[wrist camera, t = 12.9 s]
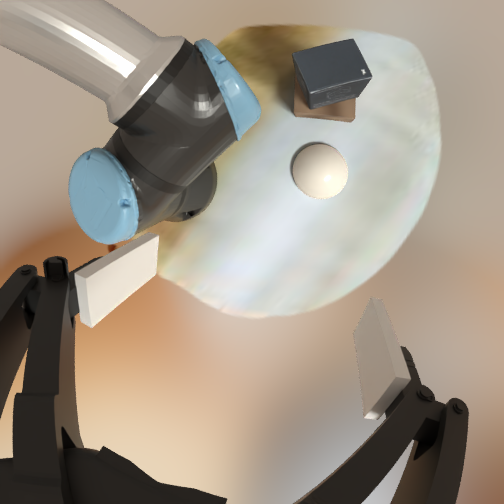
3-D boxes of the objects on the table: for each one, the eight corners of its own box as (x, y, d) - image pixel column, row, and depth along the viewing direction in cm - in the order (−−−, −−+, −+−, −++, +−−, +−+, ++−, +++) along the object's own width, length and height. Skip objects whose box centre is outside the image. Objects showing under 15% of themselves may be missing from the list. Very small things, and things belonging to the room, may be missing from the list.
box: (344, 65, 32) (354, 37, 22) (358, 97, 33) (374, 78, 23) (295, 77, 34) (290, 52, 24) (309, 110, 35) (309, 94, 25)
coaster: (287, 190, 45) (286, 190, 44) (299, 138, 41) (299, 137, 41) (339, 205, 43) (339, 205, 43) (353, 153, 40) (353, 153, 40)
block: (295, 117, 40) (293, 112, 36) (297, 68, 37) (295, 58, 33) (350, 122, 39) (355, 118, 34) (351, 73, 36) (355, 64, 31)
